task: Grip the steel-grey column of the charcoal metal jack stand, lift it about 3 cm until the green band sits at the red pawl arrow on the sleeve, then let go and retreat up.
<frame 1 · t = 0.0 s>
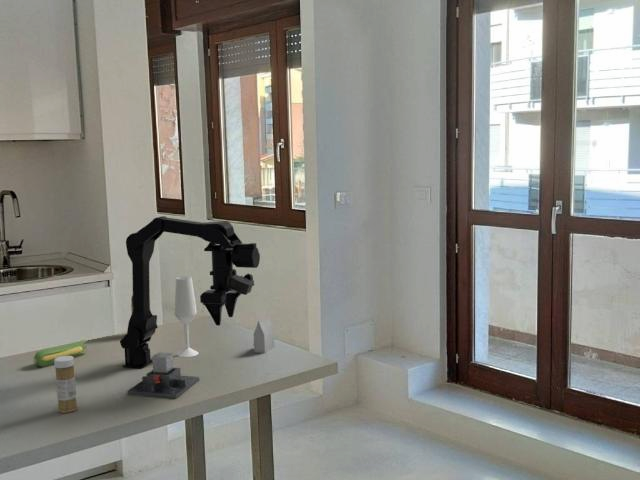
hand: (224, 321, 201), 15 cm above the table, fingers open, 9 cm apart
edible corn: (64, 360, 217), on the table
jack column: (163, 369, 190), point 5 cm above the table, slide at 0.0 cm
champagne flute: (187, 354, 221), on the table
sprinkles bottle: (67, 411, 176), on the table
jack base: (164, 387, 191), on the table
sauce bottle: (142, 335, 243), on the table
white gable top carton: (264, 350, 224), on the table
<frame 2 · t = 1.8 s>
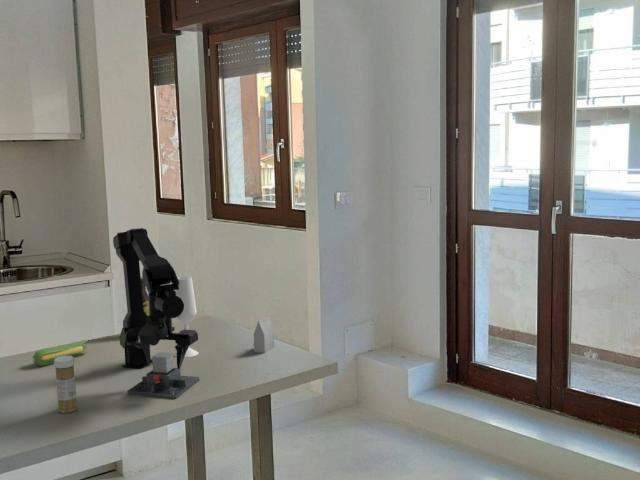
hand: (163, 367, 190), 6 cm above the table, fingers open, 9 cm apart
nothing on the table moved.
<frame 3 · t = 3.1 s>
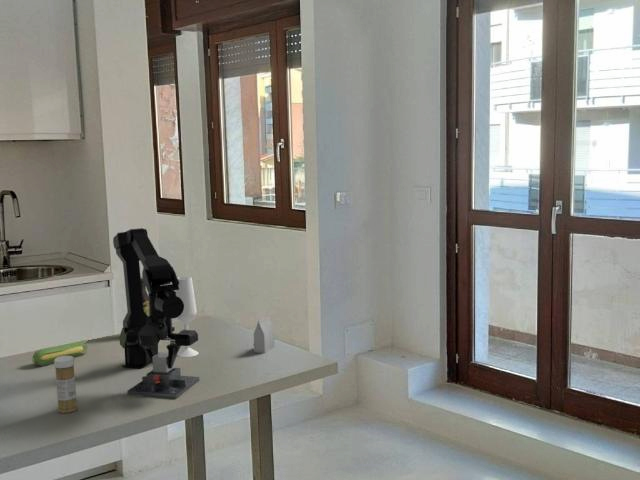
hand: (163, 367, 190), 6 cm above the table, fingers closed on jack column, 4 cm apart
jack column: (163, 369, 190), point 5 cm above the table, slide at 0.0 cm, touching gripper
everything else where it was.
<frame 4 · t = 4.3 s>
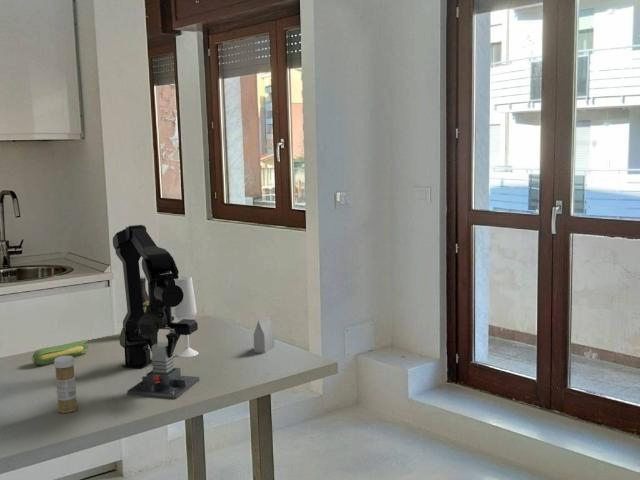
hand: (162, 356, 190), 8 cm above the table, fingers closed on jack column, 4 cm apart
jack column: (162, 358, 190), point 8 cm above the table, slide at 2.9 cm, touching gripper
everything else where it was.
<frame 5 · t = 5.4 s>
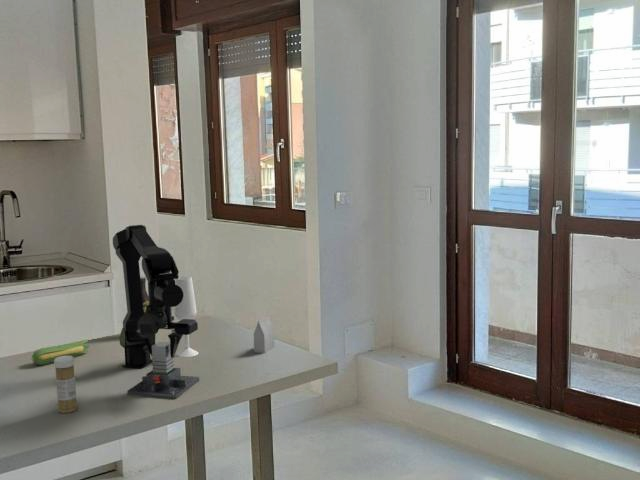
hand: (162, 356, 190), 8 cm above the table, fingers open, 5 cm apart
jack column: (162, 358, 190), point 8 cm above the table, slide at 2.9 cm
everything else where it was.
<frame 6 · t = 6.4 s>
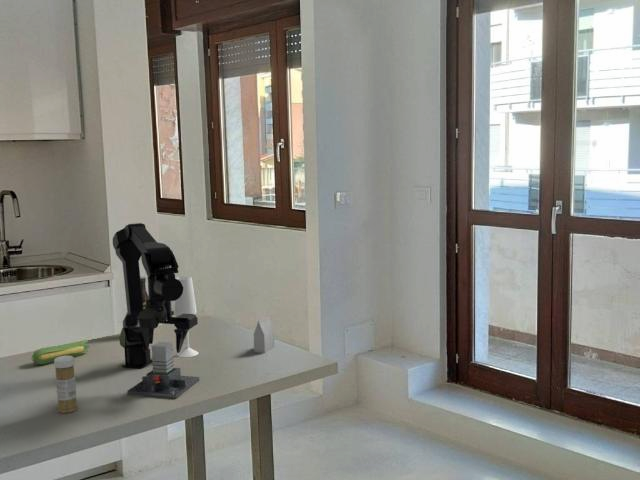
hand: (162, 351, 190), 10 cm above the table, fingers open, 9 cm apart
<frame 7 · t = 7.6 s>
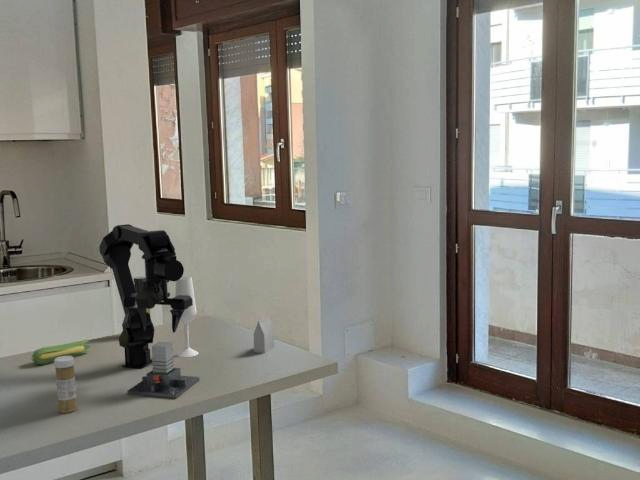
hand: (159, 331, 198), 13 cm above the table, fingers open, 9 cm apart
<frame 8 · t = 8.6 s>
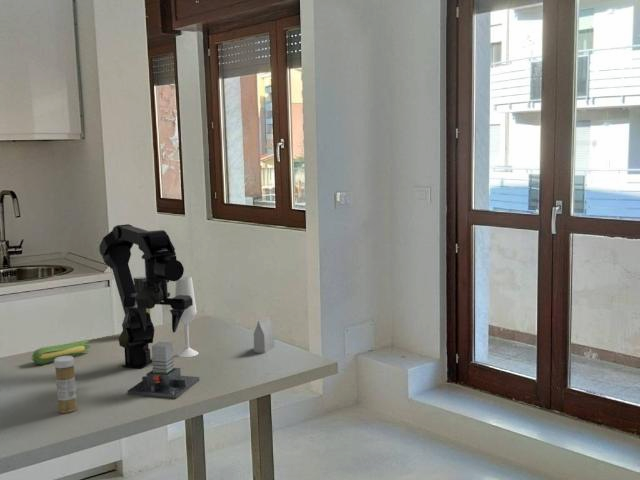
hand: (159, 331, 198), 13 cm above the table, fingers open, 9 cm apart
at the end: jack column slide at 2.9 cm; the gripper is holding nothing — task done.
